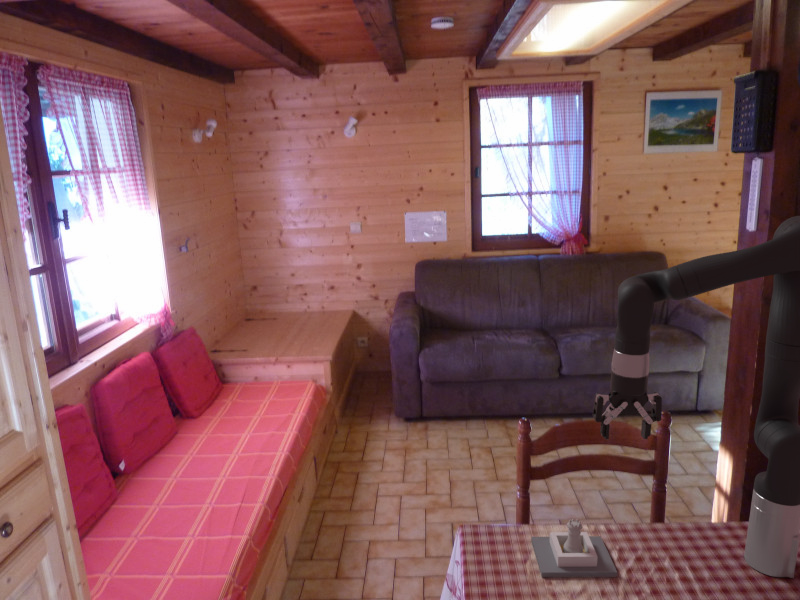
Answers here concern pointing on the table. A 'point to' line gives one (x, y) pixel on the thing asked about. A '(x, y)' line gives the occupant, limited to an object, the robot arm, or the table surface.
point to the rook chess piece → (573, 538)
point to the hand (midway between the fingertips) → (624, 437)
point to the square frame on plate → (572, 557)
